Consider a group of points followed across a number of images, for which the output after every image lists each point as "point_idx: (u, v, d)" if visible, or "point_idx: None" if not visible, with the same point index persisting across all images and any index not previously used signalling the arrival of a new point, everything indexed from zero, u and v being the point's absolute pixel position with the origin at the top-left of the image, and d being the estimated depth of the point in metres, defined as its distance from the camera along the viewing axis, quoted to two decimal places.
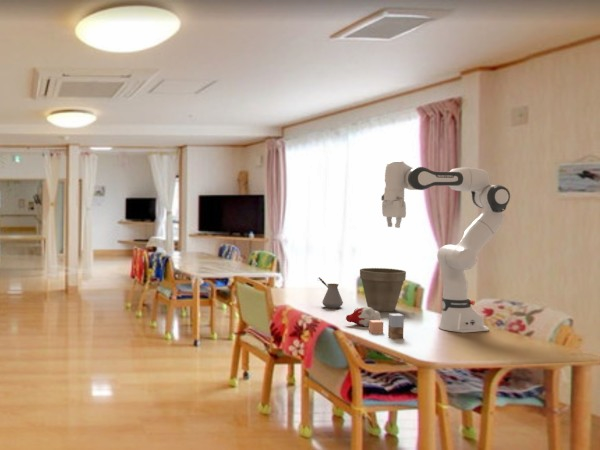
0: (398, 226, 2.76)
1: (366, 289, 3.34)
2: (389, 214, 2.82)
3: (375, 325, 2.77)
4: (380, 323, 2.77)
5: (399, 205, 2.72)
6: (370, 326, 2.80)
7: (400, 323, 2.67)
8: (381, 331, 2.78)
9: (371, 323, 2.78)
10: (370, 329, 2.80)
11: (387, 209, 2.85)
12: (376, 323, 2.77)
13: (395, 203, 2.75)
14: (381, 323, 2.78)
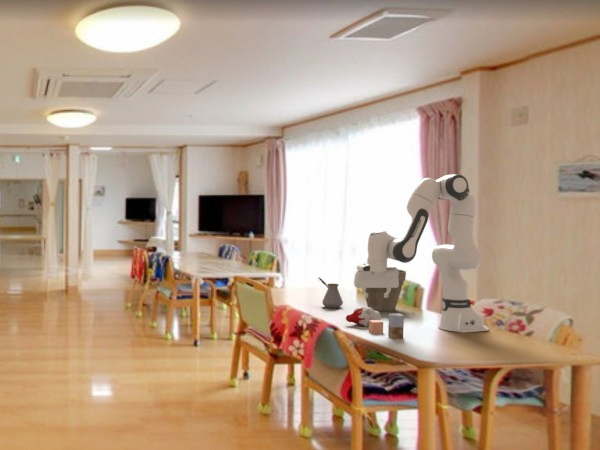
0: None
1: (366, 289, 3.34)
2: (375, 285, 2.77)
3: (375, 325, 2.77)
4: (380, 323, 2.77)
5: (397, 276, 2.80)
6: (370, 326, 2.80)
7: (400, 323, 2.67)
8: (381, 331, 2.78)
9: (371, 323, 2.78)
10: (370, 329, 2.80)
11: (368, 280, 2.76)
12: (376, 323, 2.77)
13: (391, 274, 2.78)
14: (381, 323, 2.78)
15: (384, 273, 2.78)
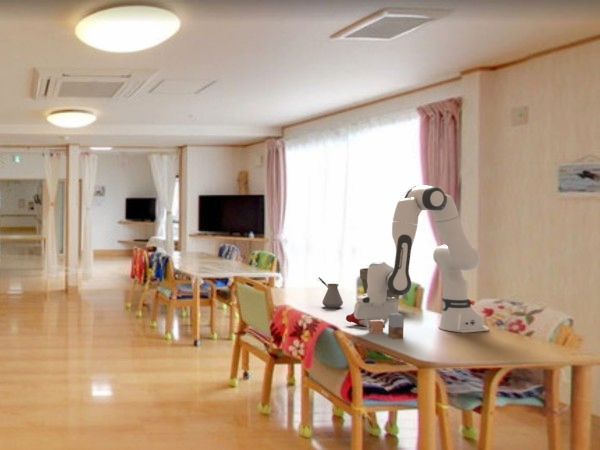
0: None
1: (366, 289, 3.34)
2: (375, 316, 2.78)
3: (375, 325, 2.77)
4: (380, 323, 2.77)
5: None
6: None
7: (400, 323, 2.67)
8: (381, 331, 2.78)
9: (371, 323, 2.78)
10: (370, 329, 2.80)
11: (368, 311, 2.77)
12: (376, 323, 2.77)
13: (390, 304, 2.79)
14: (381, 323, 2.78)
15: (384, 304, 2.78)
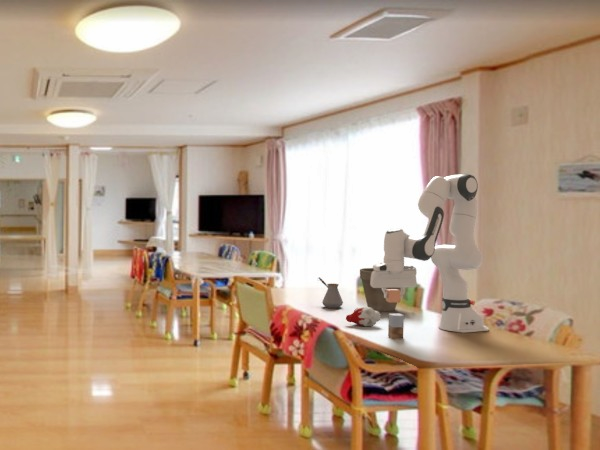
0: None
1: (366, 289, 3.34)
2: (392, 285, 2.68)
3: (392, 294, 2.68)
4: (397, 292, 2.68)
5: None
6: None
7: (400, 323, 2.67)
8: (399, 300, 2.68)
9: (388, 292, 2.69)
10: (387, 298, 2.70)
11: (385, 280, 2.67)
12: (393, 292, 2.68)
13: (408, 273, 2.69)
14: (398, 292, 2.68)
15: (401, 272, 2.69)
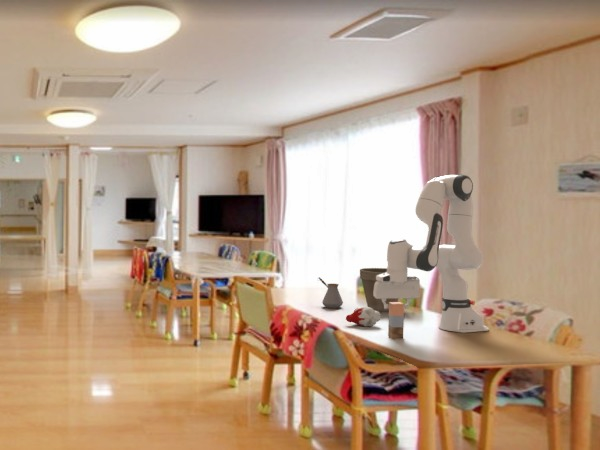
0: None
1: (366, 289, 3.34)
2: (396, 295, 2.66)
3: (396, 307, 2.66)
4: (401, 305, 2.66)
5: (418, 285, 2.69)
6: (390, 308, 2.68)
7: (400, 323, 2.67)
8: (402, 313, 2.67)
9: (391, 305, 2.67)
10: (390, 311, 2.68)
11: (388, 290, 2.66)
12: (397, 305, 2.66)
13: (411, 284, 2.68)
14: (402, 305, 2.66)
15: (404, 283, 2.67)
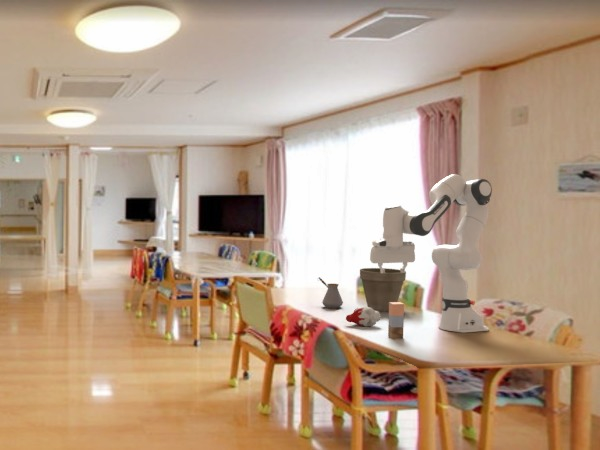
0: None
1: (366, 289, 3.34)
2: (392, 260, 2.74)
3: (396, 307, 2.66)
4: (401, 305, 2.66)
5: None
6: (390, 308, 2.68)
7: (400, 323, 2.67)
8: (402, 313, 2.66)
9: (391, 305, 2.67)
10: (390, 311, 2.68)
11: (385, 255, 2.73)
12: (397, 305, 2.66)
13: (407, 248, 2.76)
14: (402, 305, 2.66)
15: (400, 248, 2.75)
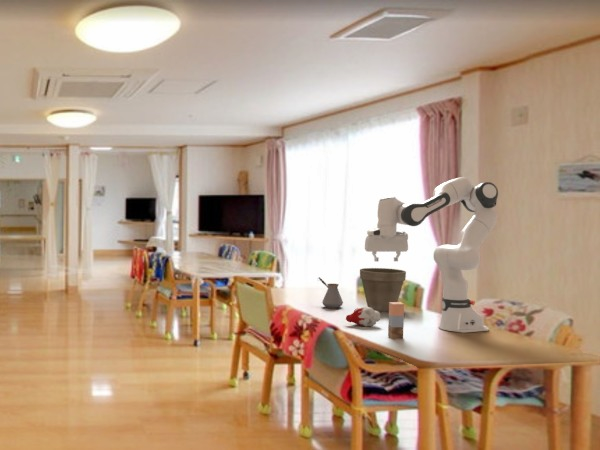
0: None
1: (366, 289, 3.34)
2: (385, 249, 2.86)
3: (396, 307, 2.66)
4: (401, 305, 2.66)
5: None
6: (390, 308, 2.68)
7: (400, 323, 2.67)
8: (402, 313, 2.66)
9: (391, 305, 2.67)
10: (390, 311, 2.68)
11: (379, 244, 2.85)
12: (397, 305, 2.66)
13: (400, 238, 2.87)
14: (402, 305, 2.66)
15: (394, 237, 2.86)
